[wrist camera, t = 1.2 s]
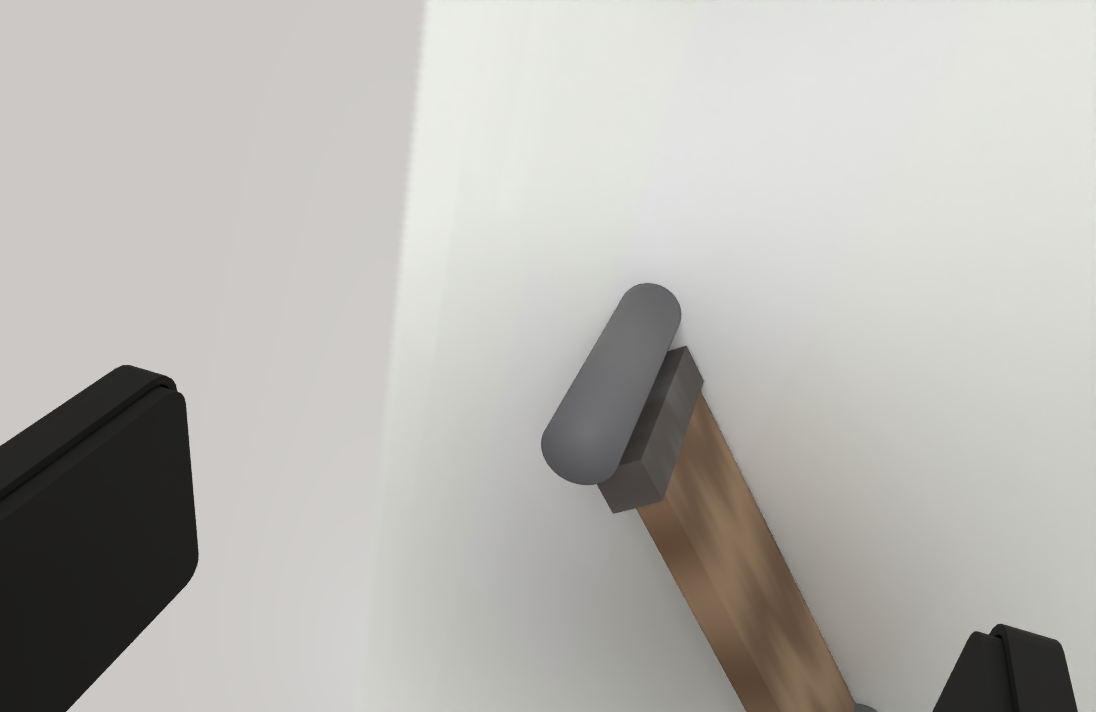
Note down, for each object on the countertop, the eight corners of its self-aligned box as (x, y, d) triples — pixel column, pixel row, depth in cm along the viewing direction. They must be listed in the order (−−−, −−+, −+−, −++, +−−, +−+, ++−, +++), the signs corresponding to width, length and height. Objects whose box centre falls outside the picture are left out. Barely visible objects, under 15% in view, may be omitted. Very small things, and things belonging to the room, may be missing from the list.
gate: (861, 701, 41) (857, 867, 34) (821, 706, 42) (810, 869, 35) (686, 346, 36) (641, 459, 29) (644, 359, 37) (591, 473, 30)
